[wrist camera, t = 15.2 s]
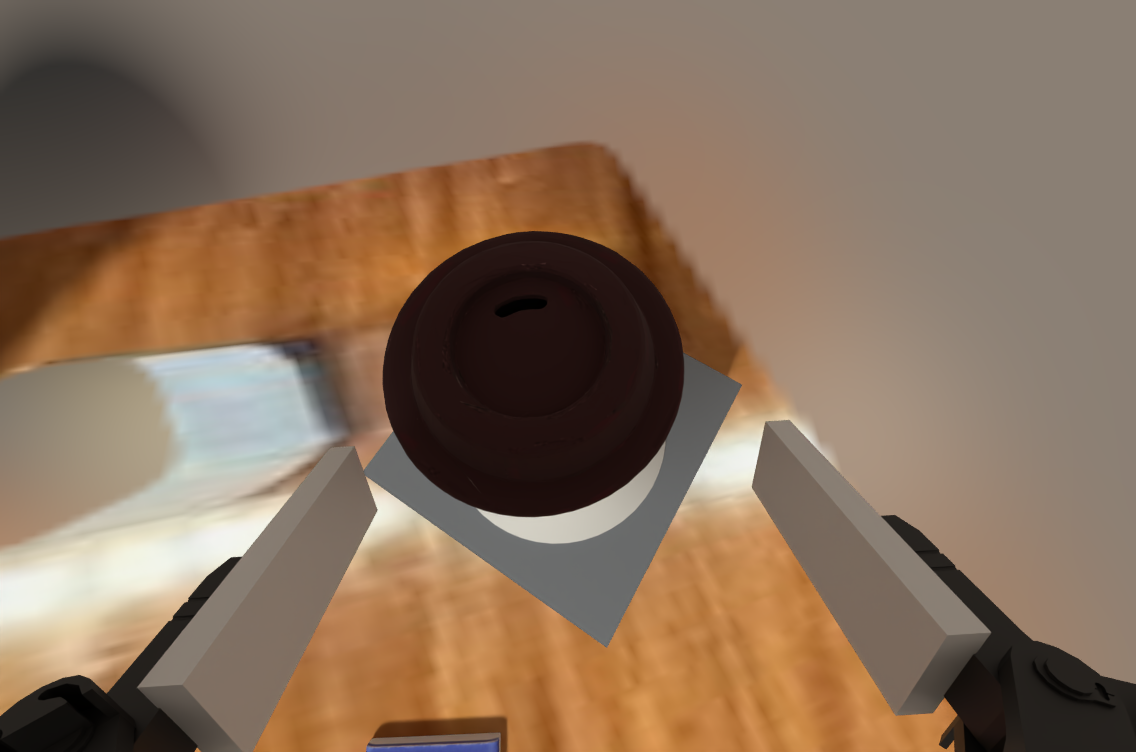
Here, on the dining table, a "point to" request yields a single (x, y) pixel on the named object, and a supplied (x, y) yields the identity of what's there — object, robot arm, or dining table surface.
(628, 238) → the dining table surface
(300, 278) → the dining table surface
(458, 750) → the hard drive
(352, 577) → the dining table surface
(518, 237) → the coffee cup
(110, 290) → the dining table surface
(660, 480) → the slate stand
